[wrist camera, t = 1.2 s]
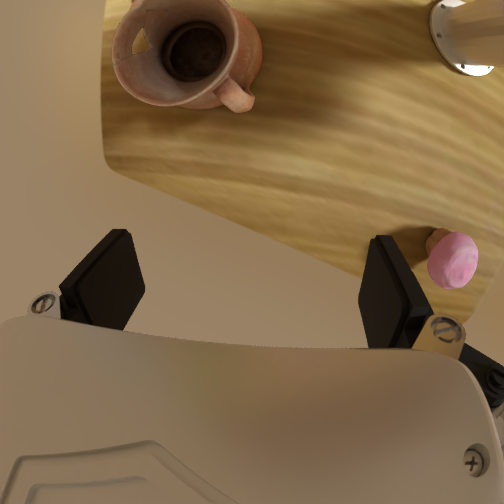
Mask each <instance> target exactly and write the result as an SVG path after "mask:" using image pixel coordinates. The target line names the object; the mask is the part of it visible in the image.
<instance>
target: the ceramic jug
mask: <svg viewBox="0 0 504 504" xmlns="http://www.w3.org/2000/svg"><path fill="white" fill-rule="evenodd" d="M142 27H143V34H144V37H145V39H146V41H147V44H148V45H149V46H148V49H147V50H146V51H144V52H142V53H138V54H135V55H132V44H133V41H134V39H135V37H136V35H137V34H138V32H139V31H140V29H141V28H142ZM262 57H263V48H262V42H261V38H260V36H259V33H258V31H257V29H256V28H255V26H254V25H253V23H252V22H251V21H250V20H249V19H248V18H247V17H246V16H245V15H244V14H242V13H241V12H239V11H237V10H236V9H233V8H231V7H230V6H229V4H228V3H227V2H226V1H225V0H136V1H134V2H133V4H132V6H131V8H130V10H129V11H128V12H127V14H126V15H125V16H124V17H123V19H122V20H121V22H120V23H119V26H118V28H117V30H116V32H115V35H114V38H113V42H112V62H113V69H114V72H115V74H116V76H117V79H118V81H119V82H120V84H121V85H122V86H123V88H124V89H125V90H126V91H127V92H128V93H130V94H131V95H132V96H133V97H135V98H137V99H138V100H140V101H143V102H145V103H148V104H151V105H156V106H180V107H183V108H187V109H194V110H204V109H212V108H216V107H219V106H222V105H225V106H227V107H228V108H229V109H230V110H232V111H233V112H235V113H242V112H247V111H249V110H251V108H252V107H253V104H254V101H255V97H254V95H253V94H252V93H251V92H250V90H249V88H250V86H251V84H252V83H253V82H254V80H255V78H256V77H257V75H258V72H259V70H260V67H261V63H262Z"/></svg>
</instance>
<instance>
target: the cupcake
mask: <svg viewBox="0 0 504 504" xmlns="http://www.w3.org/2000/svg"><path fill="white" fill-rule="evenodd" d="M425 245H426V251H427V253H428V257H429V259H428V265H427V268H428V272H429V275H430V277H431V278H432V280H433V281H434V282H435V283H436V284H437V285H438V286H440V287H442V288H445V289H455V288H460V287H463V286H464V285H466V284H467V283H468V282H469V280H470V279H471V278H472V276H473V274H474V272H475V270H476V267H477V261H478V250H477V247H476V245H475V244H474V242H473V240H472V239H471V238H470V237H469V236H468V235H466V234H463V233H460V232H451V231H449V230H447V229H445V228H439V229H436V230H434V232H433V233H432V235H431V236H430V237H428V239H427V240H426V243H425Z"/></svg>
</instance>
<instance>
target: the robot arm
mask: <svg viewBox="0 0 504 504" xmlns="http://www.w3.org/2000/svg"><path fill="white" fill-rule="evenodd" d="M429 24H430V31H431V34H432V38H433V40H434V42H435V45H436V47H437V48H438V50H439V51H440V53H441V54H442V56H443V57H444V58H445V60H446V61H447V62H448V63H449V64H450V65H451V66H453V67H454V68H455V69H457V70H458V71H460V72H462V73H463V74H466V75H470V76H482V75H486V74H487V73H489V72H490V71H491V70H492V68H493V67H504V0H475V1H472V2H468V3H465V2H463V1H460V0H442V1H440V2H438V3H437V4H435V5H434V7H433V8H432V10H431V13H430V19H429ZM437 36H438V37H437ZM59 288H60V290H61V293H62V294H61V296H60V297H59V295H58V294H57V293H56V292H53V291H50V292H45V293H42V294H40V295H38V296H37V297H36V298H34V300H32V302H31V303H30V305H29V307H28V315H27V316H21V317H16V318H12V319H10V320H7V321H5V322H4V323H2V324H1V325H0V504H504V367H503V366H502V365H500V364H499V363H497V362H495V361H494V360H492V359H491V358H489V357H487V356H486V355H484V354H482V353H481V352H479V351H477V350H476V349H474V348H472V347H471V346H469V345H467V344H466V343H464V342H465V339H466V332H465V329H464V327H463V325H462V324H461V323H460V322H459V321H458V320H457V319H456V318H454V317H452V316H450V315H447V314H442V313H439V314H434V312H433V310H432V308H431V306H430V304H429V302H428V300H427V298H426V296H425V294H424V292H423V290H422V288H421V286H420V284H419V282H418V281H417V279H416V277H415V275H414V273H413V272H412V271H411V269H410V267H409V265H408V264H407V262H406V260H405V258H404V256H403V255H402V253H401V251H400V249H399V248H398V246H397V244H396V243H395V241H394V239H393V238H392V236H387V235H376V237H375V239H371V241H370V245H369V250H368V255H367V260H366V265H365V270H364V274H363V279H362V283H361V288H360V292H359V296H358V297H359V298H358V304H359V308H360V312H361V317H362V321H363V325H364V329H365V334H366V338H367V342H368V347H369V348H291V347H270V346H251V345H238V344H225V343H214V342H204V341H194V340H186V339H177V338H169V337H162V336H154V335H147V334H141V333H134V332H128V331H123V329H124V328H125V326H126V324H127V322H128V320H129V318H130V317H131V315H132V314H133V312H134V310H135V308H136V307H137V305H138V303H139V301H140V300H141V298H142V296H143V295H144V292H145V284H144V281H143V277H142V274H141V270H140V266H139V263H138V259H137V255H136V251H135V247H134V243H133V240H132V236H131V234H130V233H129V232H128V231H127V230H126V229H112V230H111V231H110V232H109V233H108V234H107V235H106V236H105V237H104V238H103V239H102V240H101V241H100V242H99V243H98V244H97V245H96V246H95V247H94V248H93V249H92V250H91V251H90V252H89V253H88V255H87V256H86V257H85V258H84V259H83V260H82V261H81V262H80V263H79V264H78V265H77V266H76V267H75V268H74V270H73V271H72V272H71V273H70V274H69V275H68V276H67V278H65V280H64V281H63V282H62V283H61V284H60V285H59Z"/></svg>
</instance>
